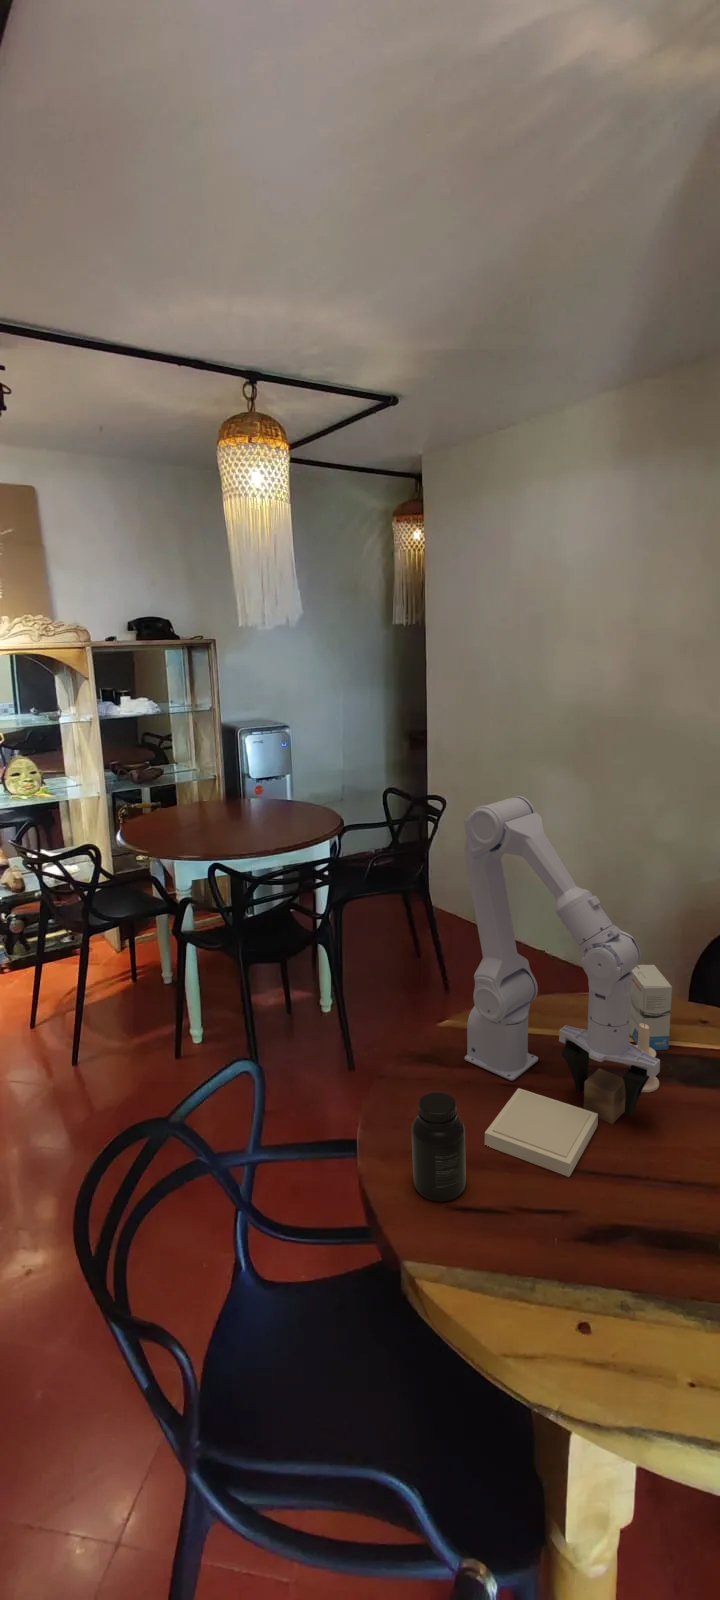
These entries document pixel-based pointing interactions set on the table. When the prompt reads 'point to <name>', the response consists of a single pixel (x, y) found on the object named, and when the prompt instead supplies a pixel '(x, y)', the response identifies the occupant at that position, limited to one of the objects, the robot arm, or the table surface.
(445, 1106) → the supplement bottle
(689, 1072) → the table surface
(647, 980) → the ink box
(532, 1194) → the table surface
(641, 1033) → the candle
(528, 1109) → the plate
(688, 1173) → the table surface
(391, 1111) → the table surface
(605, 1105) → the block
